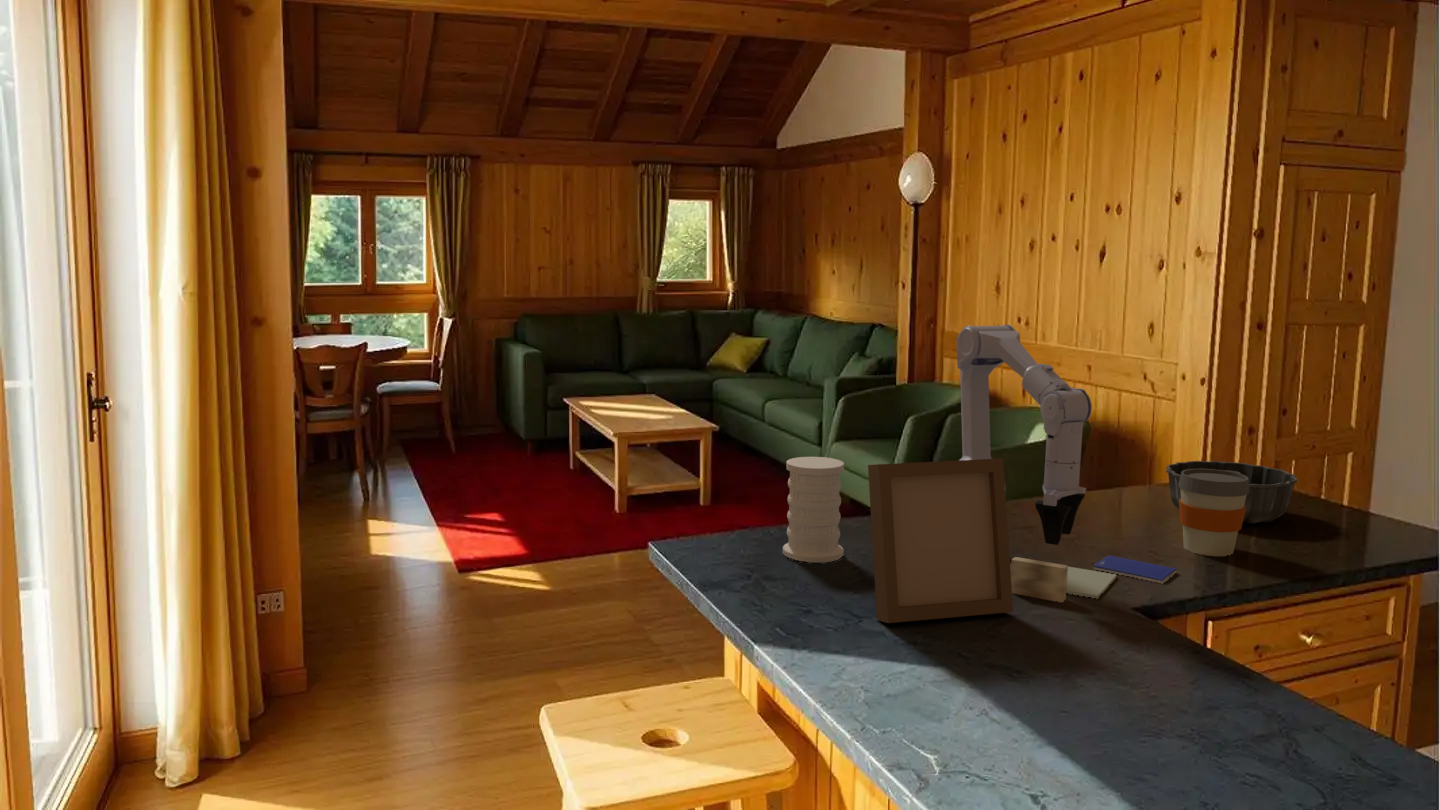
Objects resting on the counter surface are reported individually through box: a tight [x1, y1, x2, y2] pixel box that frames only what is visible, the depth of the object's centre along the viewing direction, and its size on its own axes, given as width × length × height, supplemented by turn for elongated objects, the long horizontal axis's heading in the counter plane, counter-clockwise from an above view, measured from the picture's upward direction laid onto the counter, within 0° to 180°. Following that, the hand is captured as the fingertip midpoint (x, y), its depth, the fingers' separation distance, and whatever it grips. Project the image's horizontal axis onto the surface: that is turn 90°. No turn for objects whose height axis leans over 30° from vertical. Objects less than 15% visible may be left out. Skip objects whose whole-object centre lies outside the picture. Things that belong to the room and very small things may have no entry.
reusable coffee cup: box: [1178, 469, 1249, 557], centre depth 215 cm, size 13×13×15 cm
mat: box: [1010, 563, 1118, 600], centre depth 196 cm, size 18×14×1 cm
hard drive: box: [1093, 554, 1178, 585], centre depth 201 cm, size 2×8×12 cm
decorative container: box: [782, 456, 845, 562], centre depth 208 cm, size 12×12×18 cm
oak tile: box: [1010, 556, 1069, 603], centre depth 187 cm, size 9×2×6 cm, turn 58°
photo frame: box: [867, 458, 1014, 624], centre depth 179 cm, size 15×22×25 cm
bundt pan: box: [1165, 460, 1298, 524], centre depth 243 cm, size 26×26×10 cm
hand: (1058, 538), depth 188 cm, fingers open, 7 cm apart
